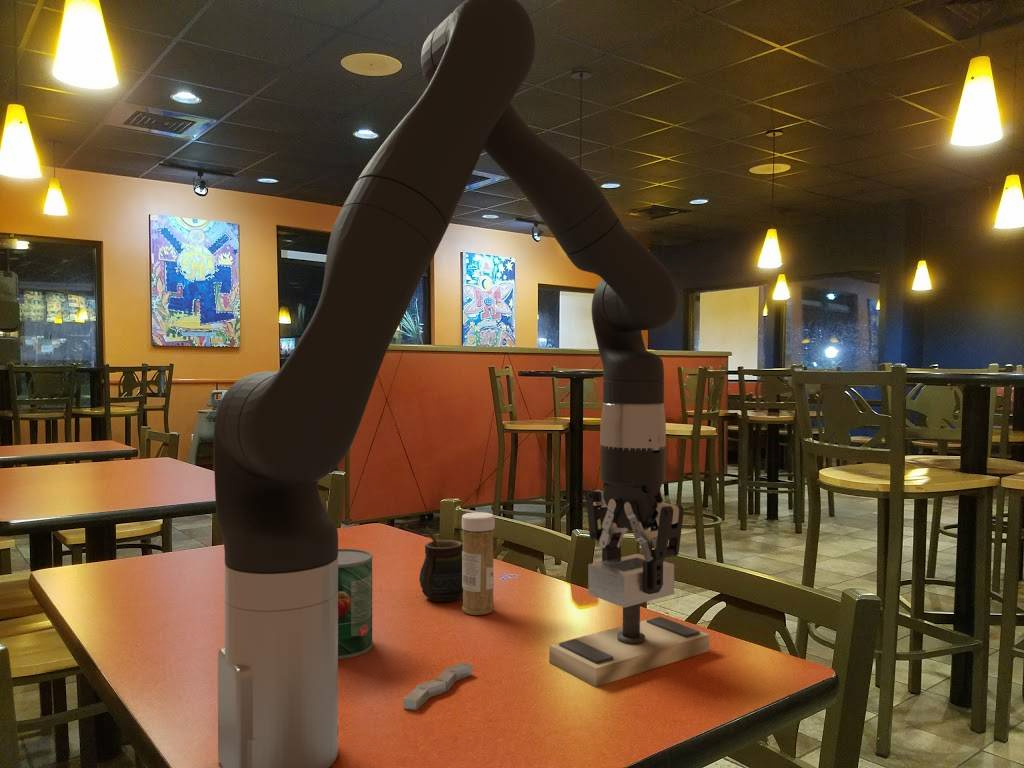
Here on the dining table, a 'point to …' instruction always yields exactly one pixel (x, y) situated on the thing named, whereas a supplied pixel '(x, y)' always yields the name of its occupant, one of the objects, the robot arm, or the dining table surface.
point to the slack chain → (436, 685)
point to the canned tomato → (354, 602)
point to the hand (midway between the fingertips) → (631, 585)
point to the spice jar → (477, 563)
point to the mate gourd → (442, 570)
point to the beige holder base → (628, 648)
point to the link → (625, 581)
